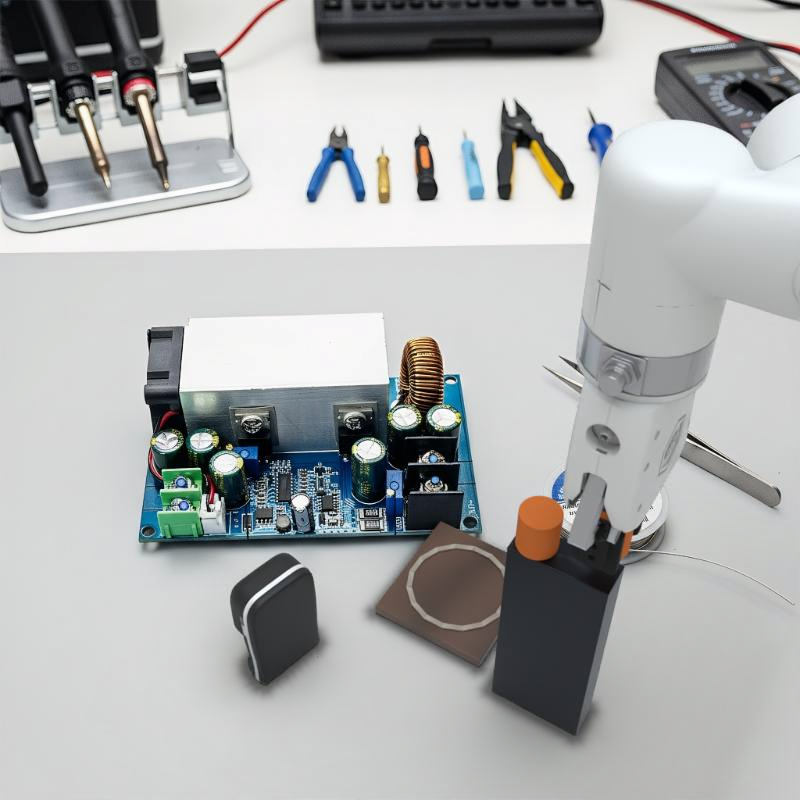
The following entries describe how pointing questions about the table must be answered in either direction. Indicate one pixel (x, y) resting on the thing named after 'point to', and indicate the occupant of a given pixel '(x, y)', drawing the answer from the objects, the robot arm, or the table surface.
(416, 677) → the table surface
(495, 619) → the board
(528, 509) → the eye dot
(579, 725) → the dot stand
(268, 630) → the battery charger
